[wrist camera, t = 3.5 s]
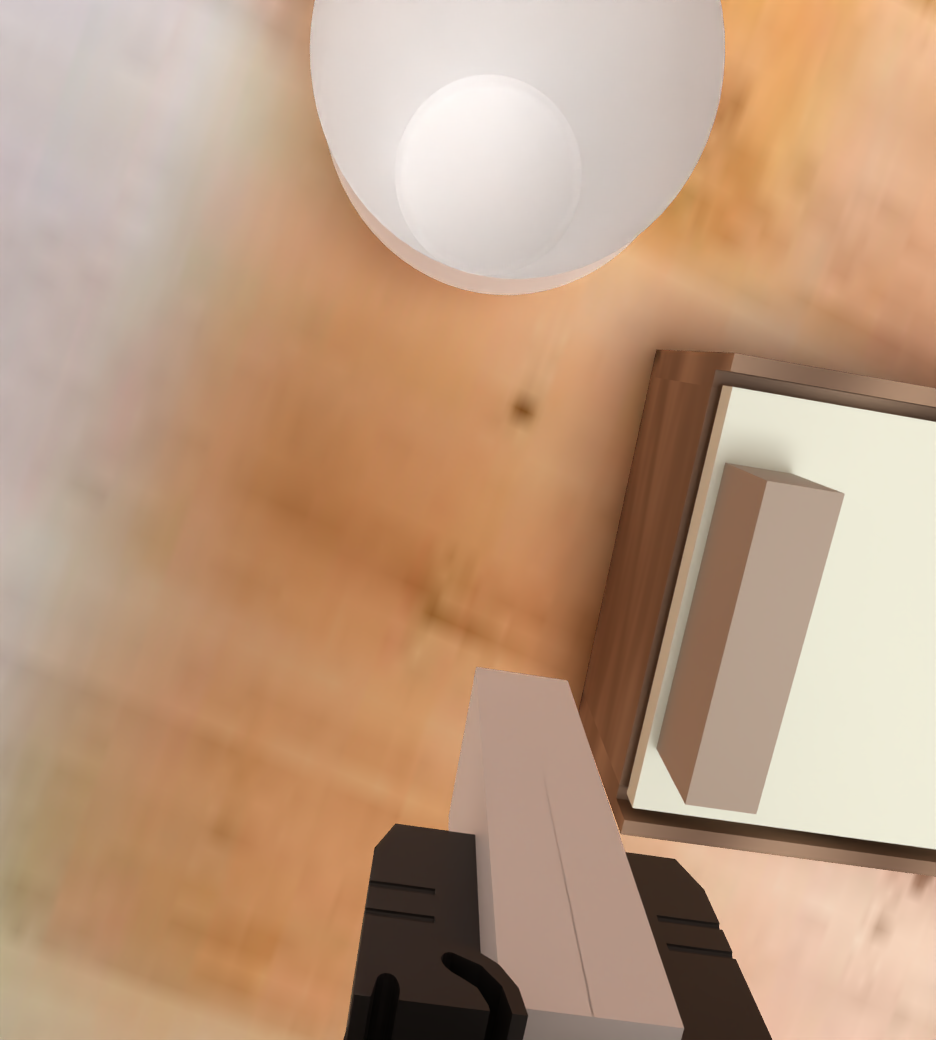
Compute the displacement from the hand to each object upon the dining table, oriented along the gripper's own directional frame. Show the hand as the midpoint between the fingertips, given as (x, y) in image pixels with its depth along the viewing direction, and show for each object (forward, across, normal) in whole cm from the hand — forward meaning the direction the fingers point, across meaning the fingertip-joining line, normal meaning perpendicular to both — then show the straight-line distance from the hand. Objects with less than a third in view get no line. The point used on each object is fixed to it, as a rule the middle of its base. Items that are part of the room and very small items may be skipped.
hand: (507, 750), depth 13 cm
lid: (+11, +14, 0) cm, 18 cm away
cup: (+19, -2, +12) cm, 22 cm away
